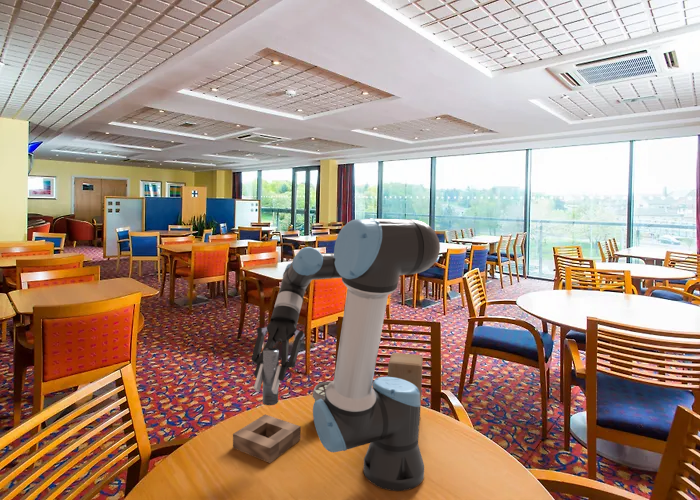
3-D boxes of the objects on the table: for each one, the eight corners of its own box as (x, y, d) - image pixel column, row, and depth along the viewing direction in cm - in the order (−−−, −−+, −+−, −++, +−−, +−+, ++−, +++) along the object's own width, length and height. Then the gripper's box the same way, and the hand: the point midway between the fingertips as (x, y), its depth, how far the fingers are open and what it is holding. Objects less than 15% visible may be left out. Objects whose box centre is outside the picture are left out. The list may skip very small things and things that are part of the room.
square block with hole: (300, 439, 119) (300, 426, 119) (270, 463, 108) (270, 448, 108) (264, 427, 126) (265, 414, 125) (233, 447, 114) (232, 433, 114)
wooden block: (419, 430, 126) (421, 365, 124) (385, 425, 128) (388, 362, 126) (420, 414, 136) (422, 354, 134) (389, 410, 138) (391, 351, 136)
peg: (281, 400, 112) (282, 349, 110) (271, 406, 108) (272, 354, 107) (269, 396, 114) (270, 346, 112) (259, 402, 110) (259, 351, 108)
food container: (316, 408, 138) (317, 379, 137) (335, 410, 137) (335, 380, 136) (307, 427, 126) (308, 395, 125) (328, 429, 125) (328, 397, 124)
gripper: (317, 319, 122) (300, 399, 108) (261, 315, 125) (237, 392, 111) (313, 306, 117) (294, 389, 102) (255, 302, 119) (229, 381, 105)
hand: (265, 390), depth 107 cm, fingers closed on peg, 4 cm apart
